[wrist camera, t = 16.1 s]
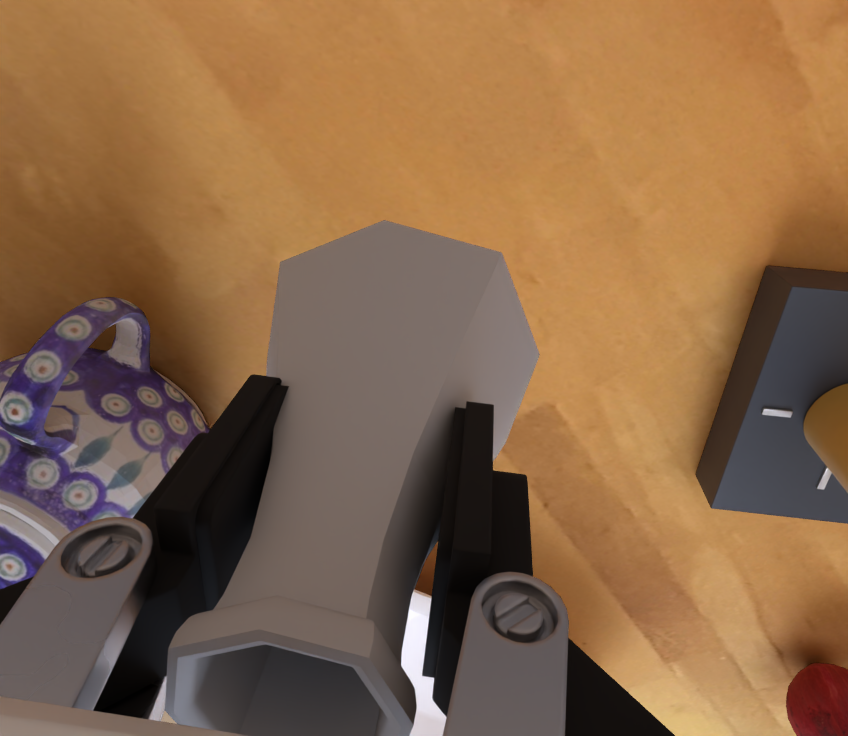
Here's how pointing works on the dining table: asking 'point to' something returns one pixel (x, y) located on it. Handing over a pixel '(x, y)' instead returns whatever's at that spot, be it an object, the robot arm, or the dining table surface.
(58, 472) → the teapot
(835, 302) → the panel
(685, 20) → the dining table surface
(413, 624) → the bowl
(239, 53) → the dining table surface
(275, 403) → the robot arm
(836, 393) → the yellow dial knob
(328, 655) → the flask
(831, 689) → the onion
